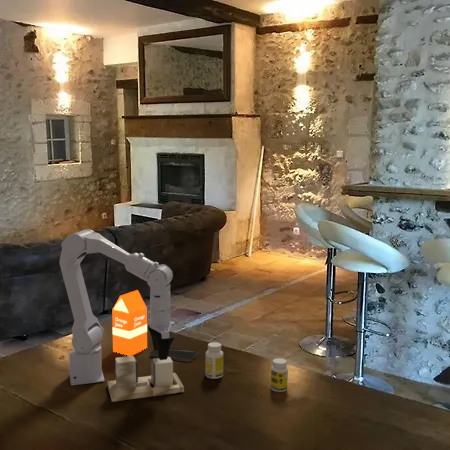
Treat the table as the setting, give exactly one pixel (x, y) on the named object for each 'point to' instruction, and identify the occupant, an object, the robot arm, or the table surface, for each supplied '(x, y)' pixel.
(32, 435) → the table surface
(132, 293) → the orange juice
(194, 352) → the phone
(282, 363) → the supplement bottle
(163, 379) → the off-white rectangular block
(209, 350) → the supplement bottle
